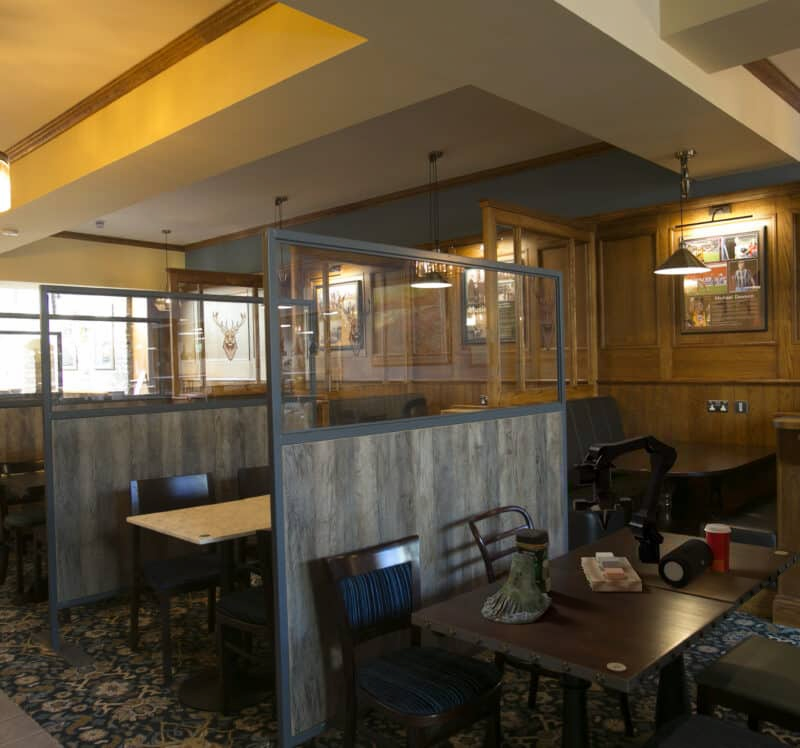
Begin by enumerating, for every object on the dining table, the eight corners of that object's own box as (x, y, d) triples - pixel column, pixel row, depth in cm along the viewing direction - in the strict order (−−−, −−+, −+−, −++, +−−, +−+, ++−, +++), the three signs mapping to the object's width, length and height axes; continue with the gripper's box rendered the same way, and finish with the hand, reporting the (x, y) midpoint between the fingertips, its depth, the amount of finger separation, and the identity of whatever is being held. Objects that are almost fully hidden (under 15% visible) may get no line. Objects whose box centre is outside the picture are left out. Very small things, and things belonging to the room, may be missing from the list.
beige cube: (612, 567, 231) (611, 552, 231) (614, 572, 226) (614, 556, 226) (596, 567, 231) (595, 552, 231) (598, 572, 226) (598, 556, 226)
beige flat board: (625, 566, 232) (625, 557, 232) (642, 591, 206) (641, 580, 206) (581, 566, 234) (581, 557, 233) (592, 591, 208) (592, 581, 208)
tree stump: (464, 614, 195) (471, 547, 198) (514, 614, 206) (520, 551, 210) (513, 628, 180) (520, 556, 183) (564, 627, 192) (569, 560, 195)
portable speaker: (690, 592, 203) (688, 557, 203) (655, 586, 209) (654, 553, 209) (716, 570, 223) (715, 539, 223) (684, 566, 229) (682, 535, 229)
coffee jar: (513, 592, 210) (510, 530, 210) (525, 585, 216) (523, 524, 216) (542, 597, 204) (540, 533, 204) (554, 590, 210) (552, 527, 210)
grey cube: (616, 572, 222) (616, 556, 222) (619, 577, 217) (618, 560, 217) (600, 572, 222) (599, 556, 222) (602, 577, 218) (602, 561, 218)
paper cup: (724, 566, 227) (722, 522, 227) (737, 573, 219) (736, 528, 219) (700, 567, 227) (699, 524, 226) (713, 574, 219) (711, 529, 219)
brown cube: (622, 584, 213) (621, 568, 213) (625, 589, 208) (624, 572, 208) (605, 584, 214) (604, 568, 214) (607, 589, 209) (606, 572, 209)
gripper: (576, 488, 224) (578, 537, 225) (636, 486, 222) (639, 535, 223) (571, 482, 236) (574, 529, 236) (629, 480, 234) (631, 527, 234)
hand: (604, 530), depth 232 cm, fingers closed
